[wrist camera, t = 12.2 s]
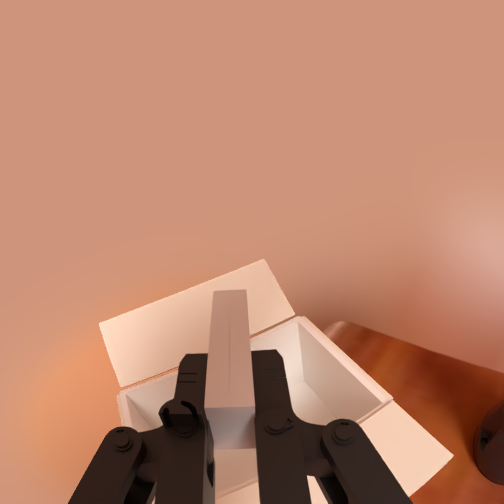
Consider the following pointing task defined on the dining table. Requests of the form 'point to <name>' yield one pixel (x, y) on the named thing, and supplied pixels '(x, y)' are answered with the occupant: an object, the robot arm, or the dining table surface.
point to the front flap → (187, 323)
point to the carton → (307, 413)
